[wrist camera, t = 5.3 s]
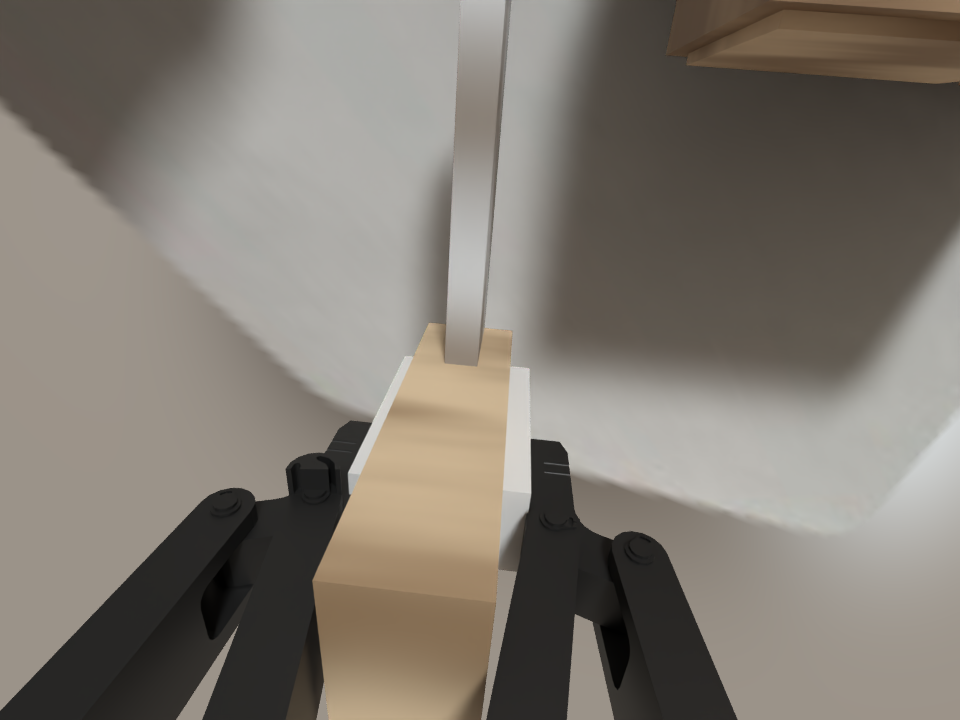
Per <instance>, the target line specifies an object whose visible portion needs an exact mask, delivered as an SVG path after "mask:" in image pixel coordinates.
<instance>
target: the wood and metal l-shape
mask: <svg viewBox="0 0 960 720" xmlns="http://www.w3.org/2000/svg"><path fill="white" fill-rule="evenodd" d="M510 10H511V0H460V23H459V45H458V68H457V91H456V114H455V137H454V159H453V182H452V205H451V228H450V251H449V273H448V296H447V319H446V324H438V323H429V324H428V326H427V328H426V330H425V333H424V335H423V337H422V339H421V341H420V344H419V346H418V348H417V350H416V353H415V355H414V357H413V359H412V361H411V364H410V366H409V368H408V370H407V372H406V375H405V377H404V379H403V381H402V383H401V386H400V388H399V390H398V392H397V394H396V397H395V399H394V401H393V403H392V406H391V408H390V410H389V412H388V414H387V417H386V419H385V421H384V423H383V425H382V428H381V430H380V432H379V434H378V436H377V439H376V441H375V443H374V445H373V448H372V450H371V452H370V454H369V456H368V459H367V461H366V463H365V465H364V467H363V470H362V472H361V474H360V476H359V478H358V481H357V483H356V485H355V487H354V490H353V492H352V494H351V496H350V498H349V501H348V503H347V505H346V507H345V509H344V512H343V514H342V516H341V518H340V520H339V523H338V525H337V527H336V529H335V532H334V534H333V536H332V538H331V540H330V543H329V545H328V547H327V549H326V551H325V554H324V556H323V558H322V560H321V562H320V565H319V567H318V569H317V571H316V574H315V576H314V578H313V580H312V582H313V590H314V599H315V607H316V616H317V624H318V633H319V641H320V650H321V658H322V667H323V675H324V683H325V692H326V701H327V709H328V718H329V720H481V716H482V708H483V701H484V693H485V685H486V677H487V669H488V662H489V654H490V646H491V638H492V630H493V623H494V613H495V607H496V594H497V578H498V562H499V545H500V529H501V512H502V496H503V479H504V462H505V446H506V429H507V412H508V396H509V379H510V363H511V346H512V331H509V330H499V329H489V328H485V316H486V303H487V291H488V279H489V267H490V255H491V242H492V230H493V218H494V206H495V193H496V181H497V169H498V157H499V145H500V132H501V120H502V108H503V96H504V83H505V71H506V59H507V47H508V35H509V22H510Z"/></svg>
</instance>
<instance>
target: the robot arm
mask: <svg viewBox="0 0 960 720" xmlns="http://www.w3.org/2000/svg"><path fill="white" fill-rule="evenodd" d="M412 359H413V356H405V357H404V359H403V361H402V363H401V365H400V367H399V369H398V371H397V373H396V375H395V378H394V380H393V382H392V384H391V386H390V388H389V390H388V392H387V394H386V396H385V398H384V400H383V402H382V404H381V406H380V408H379V410H378V412H377V414H376V417H375V419H374V421H373V423H368V422H359V421H349V422H348V423H347V424H345V425H344V426H342V427H341V428H340V429H339V430H338V431H337V433H336V435H335V436H334V438H333V441H332V442H331V444H330V445H329V447H328V449H327V451H326V452H325V453H311V454H307V455H303V456H300V457H298V458H296V459H295V460H293V461H292V462H290V464H289V465H288V466H287V468H286V475H287V483H288V489H289V496H287V497H284V498H279V499H273V500H265V501H257V502H255V497H254V496H253V494H252V493H251V492H250V491H248V490H245V489H242V488H229V489H224V490H220V491H218V492H216V493H213V494H211V495H209V496H208V497H207V498H205V499H204V500H203V501H202V502H201V503H200V504H199V505H198V506H197V507H196V508H195V509H194V510H193V511H192V512H191V513H190V514H189V515H188V516H187V517H186V518H185V519H184V520H183V521H182V522H181V524H179V525H178V527H177V528H176V529H175V530H174V531H173V532H172V533H171V534H170V535H169V536H168V537H167V538H166V539H165V540H164V541H163V542H162V543H161V544H160V545H159V546H158V547H157V548H156V550H154V552H153V553H152V554H151V555H150V556H149V557H148V558H147V559H146V560H145V561H144V562H143V563H142V564H141V565H140V566H139V567H138V568H137V569H136V570H135V571H134V572H133V573H132V574H131V575H130V577H129V578H128V579H127V580H126V581H125V582H124V583H123V584H122V585H121V586H120V587H119V588H118V589H117V590H116V591H115V592H114V593H113V594H112V595H111V596H110V597H109V598H108V599H107V600H106V601H105V602H104V604H103V605H102V606H101V607H100V608H99V609H98V610H97V611H96V612H95V613H94V614H93V615H92V616H91V617H90V618H89V619H88V620H87V621H86V622H85V623H84V624H83V625H82V626H81V628H80V629H79V630H78V631H77V632H76V633H75V634H74V635H73V636H72V637H71V638H70V639H69V640H68V641H67V642H66V643H65V644H64V645H63V646H62V647H61V648H60V649H59V650H58V651H57V652H56V653H55V655H54V656H53V657H52V658H51V659H50V660H49V661H48V662H47V663H46V664H45V665H44V666H43V667H42V668H41V669H40V670H39V671H38V672H37V673H36V674H35V675H34V676H33V677H32V679H31V680H30V681H29V682H28V683H27V684H26V685H25V686H24V687H23V688H22V689H21V690H20V691H19V692H18V693H17V694H16V695H15V696H14V697H13V698H12V699H11V700H10V701H9V702H8V703H7V705H6V706H5V707H4V708H3V709H2V710H1V711H0V720H176V718H177V717H178V716H179V714H180V713H181V711H182V710H183V708H184V707H185V705H186V704H187V702H188V701H189V699H190V698H191V696H192V694H193V693H194V691H195V690H196V688H197V687H198V685H199V684H200V682H201V681H202V679H203V678H204V676H205V675H206V673H207V672H208V670H209V669H210V667H211V666H212V664H213V662H214V661H215V659H216V658H217V656H218V655H219V653H220V652H221V650H222V649H223V647H224V646H225V644H226V643H227V641H228V640H229V638H230V637H231V635H232V634H233V632H234V631H235V629H236V628H237V626H238V624H239V626H238V628H237V631H236V634H235V636H234V639H233V641H232V644H231V647H230V649H229V652H228V654H227V657H226V660H225V663H224V665H223V667H222V670H221V673H220V675H219V678H218V680H217V683H216V686H215V688H214V691H213V693H212V696H211V698H210V701H209V704H208V706H207V709H206V711H205V714H204V717H203V719H202V720H316V718H317V713H318V708H319V703H320V698H321V693H322V688H323V683H324V675H323V667H322V658H321V650H320V641H319V633H318V624H317V616H316V607H315V599H314V590H313V582H312V580H313V578H314V576H315V574H316V571H317V569H318V567H319V565H320V562H321V560H322V558H323V556H324V554H325V551H326V549H327V547H328V545H329V543H330V540H331V538H332V536H333V534H334V532H335V529H336V527H337V525H338V523H339V520H340V518H341V516H342V514H343V512H344V509H345V507H346V505H347V503H348V501H349V498H350V496H351V494H352V492H353V490H354V487H355V485H356V483H357V481H358V478H359V476H360V474H361V472H362V470H363V467H364V465H365V463H366V461H367V459H368V456H369V454H370V452H371V450H372V448H373V445H374V443H375V441H376V439H377V436H378V434H379V432H380V430H381V428H382V425H383V423H384V421H385V419H386V417H387V414H388V412H389V410H390V408H391V406H392V403H393V401H394V399H395V397H396V394H397V392H398V390H399V388H400V386H401V383H402V381H403V379H404V377H405V375H406V372H407V370H408V368H409V366H410V364H411V361H412ZM498 569H499V570H507V571H516V572H517V575H516V580H515V585H514V589H513V595H512V599H511V604H510V609H509V614H508V618H507V623H506V628H505V633H504V638H503V642H502V647H501V652H500V656H499V661H498V666H497V671H496V676H495V681H494V685H493V690H492V695H491V700H490V705H489V709H488V715H487V719H486V720H567V709H568V708H567V707H568V695H569V682H570V669H571V655H572V642H573V628H574V616H575V614H576V615H579V616H581V617H583V618H585V619H588V620H590V621H592V622H593V626H594V631H595V635H596V639H597V644H598V649H599V653H600V657H601V662H602V666H603V671H604V675H605V680H606V684H607V689H608V693H609V697H610V702H611V706H612V711H613V715H614V720H737V717H736V715H735V713H734V711H733V708H732V706H731V703H730V701H729V698H728V696H727V694H726V691H725V689H724V687H723V684H722V682H721V680H720V677H719V675H718V673H717V670H716V668H715V666H714V663H713V661H712V659H711V656H710V654H709V651H708V649H707V647H706V644H705V642H704V640H703V637H702V635H701V633H700V630H699V628H698V625H697V623H696V621H695V618H694V616H693V614H692V611H691V609H690V606H689V604H688V602H687V600H686V597H685V595H684V592H683V590H682V588H681V585H680V583H679V580H678V578H677V576H676V574H675V571H674V569H673V566H672V564H671V562H670V559H669V557H668V554H667V553H666V551H665V550H664V548H663V547H662V545H661V544H659V543H658V542H657V541H656V540H655V539H653V538H651V537H649V536H647V535H645V534H643V533H638V532H633V531H631V532H623V533H621V534H619V535H617V536H616V537H615V538H614V540H611V539H609V538H606V537H603V536H601V535H599V534H596V533H594V532H592V531H591V530H589V529H588V528H586V527H585V526H584V525H583V524H582V523H581V522H580V519H579V518H578V517H577V515H576V514H575V510H574V504H573V494H572V486H571V478H570V469H569V461H568V453H567V451H566V450H565V449H564V447H563V446H562V445H561V443H560V442H556V441H547V440H537V439H530V368H522V367H512V366H510V379H509V396H508V412H507V429H506V446H505V462H504V479H503V496H502V512H501V529H500V545H499V562H498Z"/></svg>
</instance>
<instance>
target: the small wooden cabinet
mask: <svg viewBox="0 0 960 720" xmlns="http://www.w3.org/2000/svg"><path fill="white" fill-rule="evenodd" d="M666 55H668V56H682V57H688V58H687V62H686V65H690V66H703V67H717V68H730V69H744V70H757V71H771V72H784V73H798V74H811V75H825V76H838V77H852V78H865V79H879V80H892V81H906V82H919V83H933V84H939V83H949V82H958V81H960V0H677V1H676V6H675V11H674V16H673V21H672V26H671V31H670V36H669V41H668V46H667V51H666ZM958 85H960V82H959V84H958Z"/></svg>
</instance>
